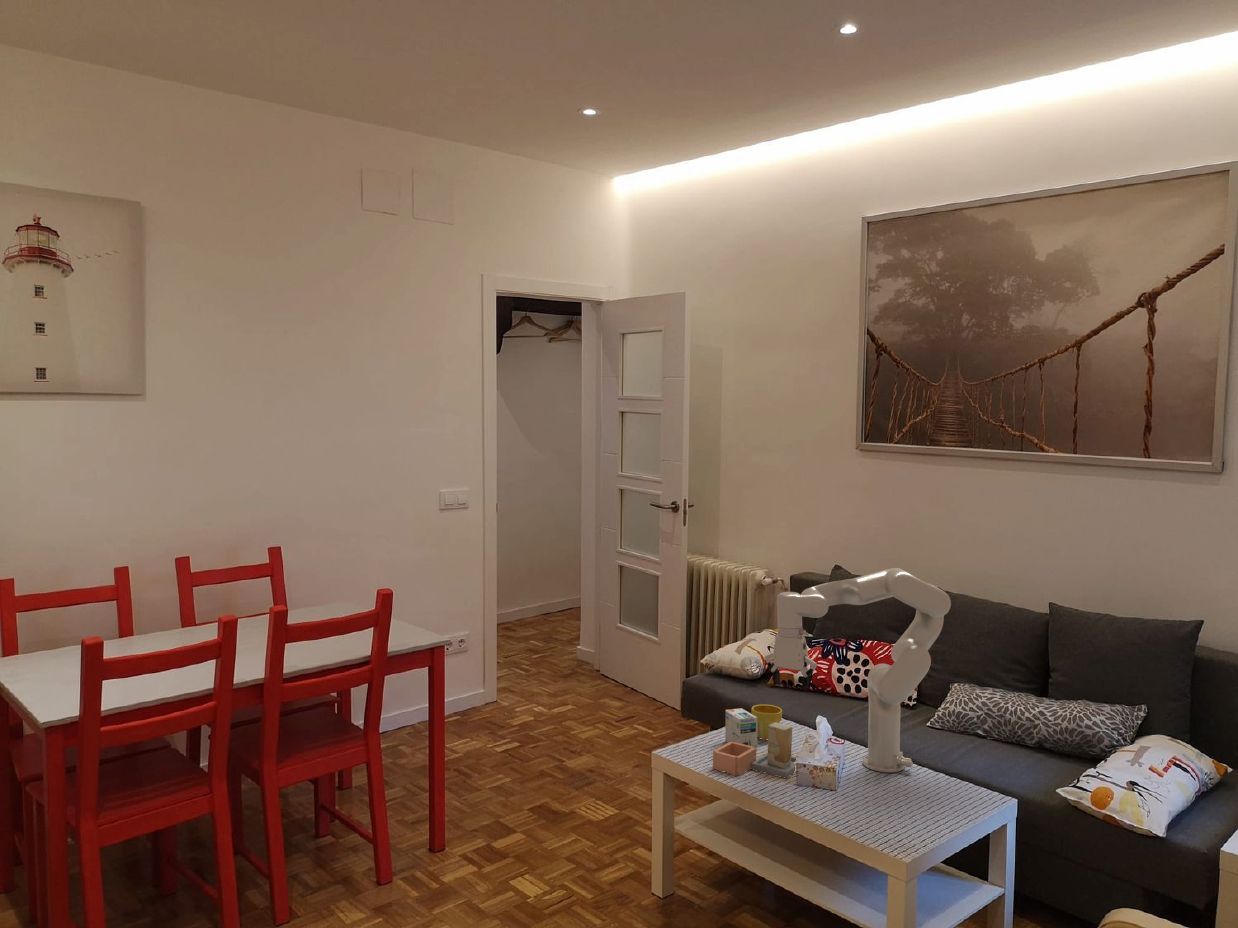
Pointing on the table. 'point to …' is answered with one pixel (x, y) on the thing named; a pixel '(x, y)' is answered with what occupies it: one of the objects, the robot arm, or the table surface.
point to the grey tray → (773, 767)
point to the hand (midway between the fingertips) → (790, 686)
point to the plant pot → (766, 718)
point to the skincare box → (779, 745)
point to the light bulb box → (741, 727)
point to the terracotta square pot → (734, 758)
